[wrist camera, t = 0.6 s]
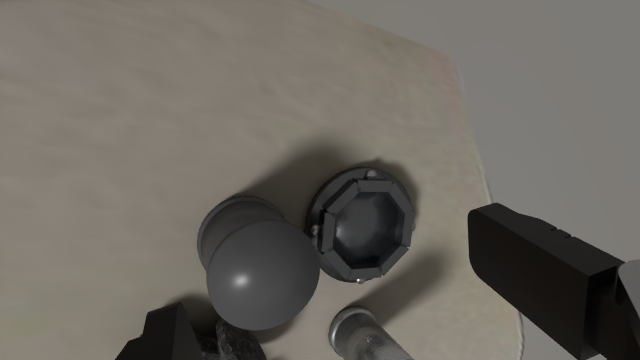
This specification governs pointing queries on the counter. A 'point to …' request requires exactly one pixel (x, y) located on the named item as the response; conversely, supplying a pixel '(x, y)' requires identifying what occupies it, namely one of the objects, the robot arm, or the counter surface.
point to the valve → (230, 344)
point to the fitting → (363, 337)
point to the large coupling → (256, 263)
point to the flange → (360, 224)
